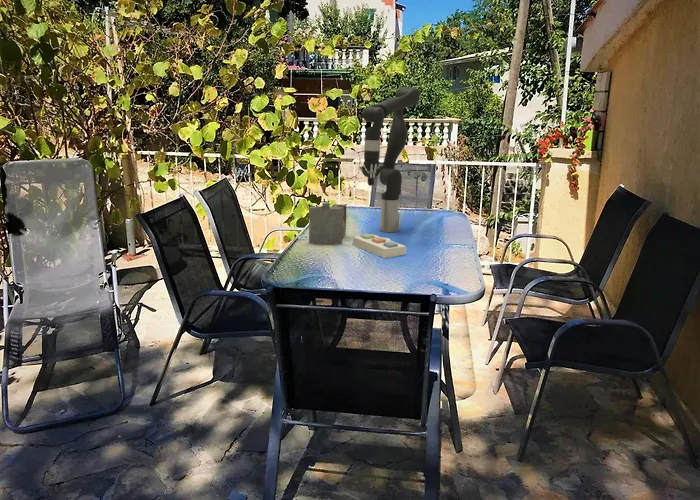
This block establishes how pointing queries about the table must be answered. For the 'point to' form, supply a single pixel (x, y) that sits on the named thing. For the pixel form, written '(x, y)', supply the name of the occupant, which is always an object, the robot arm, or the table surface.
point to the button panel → (379, 247)
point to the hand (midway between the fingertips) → (370, 185)
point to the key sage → (367, 236)
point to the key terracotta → (378, 240)
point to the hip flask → (325, 224)
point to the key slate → (390, 244)
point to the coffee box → (343, 219)
